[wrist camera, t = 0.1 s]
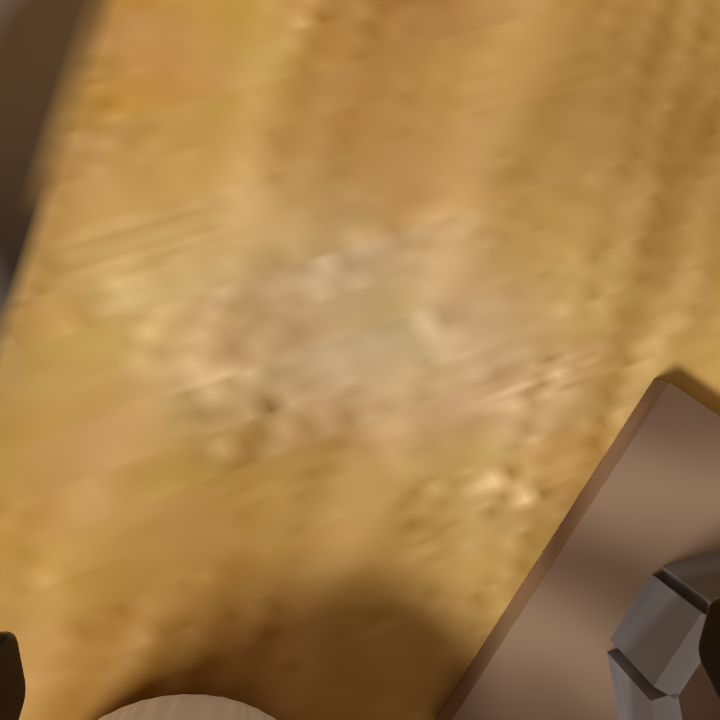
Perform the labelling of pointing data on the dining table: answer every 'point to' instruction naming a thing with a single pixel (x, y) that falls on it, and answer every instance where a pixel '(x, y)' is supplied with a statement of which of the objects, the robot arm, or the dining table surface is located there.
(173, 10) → the dining table surface
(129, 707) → the ramekin
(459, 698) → the roll holder stand
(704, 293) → the dining table surface
